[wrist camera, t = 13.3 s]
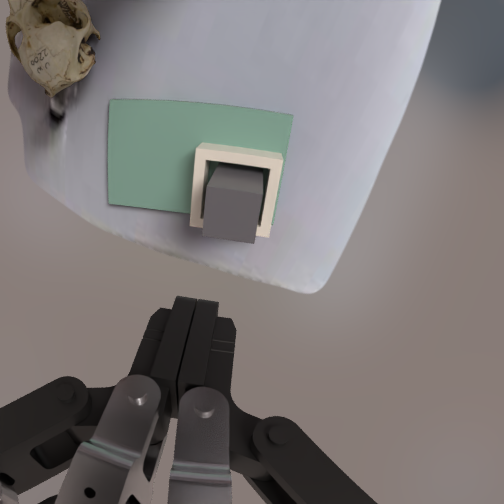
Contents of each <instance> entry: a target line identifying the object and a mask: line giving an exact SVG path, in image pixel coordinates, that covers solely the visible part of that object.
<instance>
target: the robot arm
mask: <svg viewBox="0 0 504 504" xmlns="http://www.w3.org/2000/svg"><path fill="white" fill-rule="evenodd" d="M218 307H219V302H215V301H208V300H202V299H199V300H198V301H197V299H194V298H188V297H182V296H177V297H176V299H175V302H174V305H173V307H172V309H165V308H160V309H159V310H157V311H156V312H155V313H154V314H153V315H152V316H151V318H150V320H149V323H148V325H147V329H146V331H145V333H144V336H143V339H142V341H141V344H140V346H139V349H138V351H137V354H136V357H135V359H134V362H133V365H132V367H131V370H130V372H129V374H128V376H127V377H125V378H123V379H121V380H120V381H119V382H118V383H117V385H115V386H112V387H106V388H86V386H85V384H84V383H83V382H82V381H80V380H79V379H77V378H75V377H70V376H66V377H61V378H58V379H56V380H54V381H52V382H50V383H48V384H46V385H44V386H43V387H41V388H39V389H37V390H35V391H33V392H31V393H29V394H27V395H25V396H23V397H21V398H19V399H17V400H16V401H13V402H12V403H10V404H8V405H6V406H4V407H2V408H0V504H19V502H18V496H17V495H19V494H21V493H23V492H25V491H27V490H29V489H31V488H33V487H35V486H37V485H38V484H40V483H42V482H44V481H46V480H48V479H50V478H51V477H53V476H55V475H57V474H59V473H61V472H62V471H64V470H66V469H68V468H69V469H68V472H67V474H66V476H65V479H64V481H63V484H62V486H61V489H60V492H59V494H58V495H55V496H52V497H49V498H47V499H46V500H44V501H42V502H40V503H38V504H151V500H152V495H153V483H154V479H155V476H156V472H157V469H158V466H159V462H160V459H161V456H162V452H163V449H164V446H165V442H166V439H167V432H168V428H169V423H170V418H177V419H178V422H177V430H176V431H177V432H176V440H175V450H174V460H173V466H172V468H171V472H170V480H169V491H168V504H232V480H231V472H230V469H231V470H233V471H236V472H238V473H240V474H242V475H243V476H244V478H245V479H246V480H247V481H248V483H249V484H250V485H251V486H252V487H253V489H254V490H255V491H256V492H257V493H258V494H259V495H260V497H261V498H262V499H263V500H264V501H265V502H266V503H267V504H377V503H376V502H375V501H374V500H373V499H372V498H371V497H369V496H368V495H367V494H366V493H365V492H364V491H363V490H362V489H361V488H360V487H359V486H357V485H356V483H355V482H353V481H352V480H351V479H350V478H349V477H348V476H347V475H346V474H345V473H344V472H343V471H342V470H341V469H340V468H339V467H338V466H337V465H336V464H335V463H334V462H333V461H332V460H331V459H330V458H329V457H328V456H327V455H326V454H325V453H324V452H323V451H322V450H321V449H320V448H319V447H318V446H317V445H316V444H315V443H314V442H313V441H312V440H311V439H310V438H309V437H308V436H307V435H306V434H305V433H304V432H303V431H302V429H300V427H299V426H298V425H297V424H296V423H294V422H293V421H291V420H290V419H287V418H285V417H280V416H273V417H268V418H265V419H263V420H262V419H260V418H257V417H255V416H252V415H250V414H247V413H245V412H243V411H242V410H241V409H239V408H238V407H237V406H236V404H235V403H234V401H233V400H232V397H231V393H230V388H231V378H232V368H233V358H234V348H235V339H236V328H235V326H234V323H233V321H232V319H231V318H224V317H217V316H218Z"/></svg>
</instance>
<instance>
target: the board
mask: <svg viewBox="0 0 504 504" xmlns="http://www.w3.org/2000/svg"><path fill="white" fill-rule="evenodd" d="M292 121H293V115H290V114H284V113H278V112H272V111H266V110H260V109H253V108H245V107H238V106H229V105H220V104H211V103H200V102H187V101H171V100H148V99H112V100H110V105H109V125H108V199H109V204H116V205H124V206H133V207H141V208H149V209H157V210H165V211H173V212H181V213H188V214H191V200H192V187H193V175H194V164H195V153H196V148H197V147H198V146H199V145H200V144H201V143H202V142H203V143H212V144H220V145H228V146H236V147H243V148H250V149H257V150H264V151H270V152H276V153H282V157H283V165H282V170H281V175H280V181H279V186H278V191H277V197H276V202H275V207H274V213H273V218H272V223H271V225H273V223H274V217H275V212H276V207H277V202H278V197H279V191H280V186H281V181H282V175H283V170H284V165H285V159H286V154H287V149H288V143H289V138H290V132H291V127H292ZM219 163H220V161H211V160H210V164H209V173H208V183H209V181H210V179H211V177H212V175H213V173H214V172H215V170H216V168H217V166H218V164H219ZM225 163H227V162H225ZM232 164H235V163H232ZM239 165H242V164H239ZM246 166H249V165H246ZM253 167H256V166H253ZM259 168H262V167H259ZM268 170H269V168H263V196H262V202H261V208H260V213H259V215H261V211H262V205H263V199H264V193H265V187H266V181H267V176H268ZM208 183H207V185H208Z"/></svg>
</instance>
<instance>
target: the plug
mask: <svg viewBox="0 0 504 504" xmlns="http://www.w3.org/2000/svg"><path fill="white" fill-rule="evenodd" d="M262 196H263V168H259V167H253V166H246V165H239V164H232V163H225V162H220V163H219V164H218V166H217V168H216V170H215V172H214V173H213V175H212V177H211V179H210V181H209V183H208V185H207V188H206V197H205V208H204V218H203V229H202V236H206V237H212V238H219V239H226V240H233V241H239V242H246V243H253V244H254V242H255V236H256V230H257V225H258V219H259V213H260V208H261V202H262Z"/></svg>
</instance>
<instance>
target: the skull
mask: <svg viewBox="0 0 504 504" xmlns="http://www.w3.org/2000/svg"><path fill="white" fill-rule="evenodd" d="M8 2H9V6H10V16H9V17H7V19H6V33H7V38H8V42H9V46H10V49H11V51H12V53H13V54H14V56H16V57H17V59H18V60H19V61H20V62H21V63H22V65H23V67H24V69H25V71H26V72H27V73H28V75H29V76H30V77H31V79H33V80H34V81H35V82H36V83H38V84H40V85H41V86H43V87H44V88H45V94H46V95H48V96H49V97H51V98H52V97H53V96H54V95H55V94H56V93H58V92H59V91H61V90H63V89H65V88H67V87H69V86H70V85H72V84H73V83H75V82H78V81H80V80H82V79H83V78H84V77H85V76H86V75H87V74H88V72H89V71H90V69H91V67H92V66H93V64H95V62H96V61H95V52H94V51H93V49H92V47H91V46H89V45H88V44H86V41H87V39H88V37H89V36H90V35H91V34H94V35H96V37H97V38H98V40H100V34H99V31H97V30H96V29H95V28H94V26H93V24H92V23H91V17H90V15H89V12H88V10H87V7H86V5H85V4H84V3H83V2H82V1H81V0H8ZM76 28H81V29H76ZM21 30H22V33H23V39H22V43H21V46H20V48H19V49H17V47H16V45H15V36H16V34H17V33H18V32H20V31H21Z"/></svg>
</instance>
